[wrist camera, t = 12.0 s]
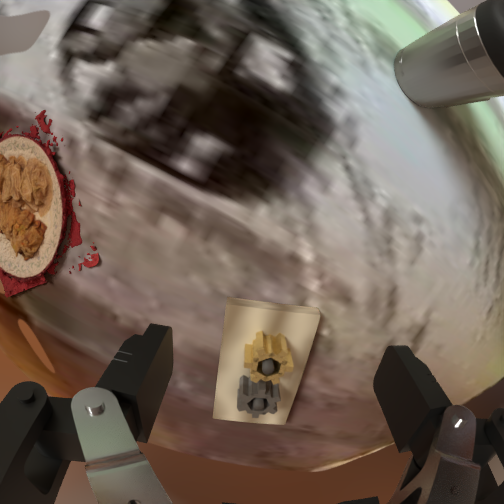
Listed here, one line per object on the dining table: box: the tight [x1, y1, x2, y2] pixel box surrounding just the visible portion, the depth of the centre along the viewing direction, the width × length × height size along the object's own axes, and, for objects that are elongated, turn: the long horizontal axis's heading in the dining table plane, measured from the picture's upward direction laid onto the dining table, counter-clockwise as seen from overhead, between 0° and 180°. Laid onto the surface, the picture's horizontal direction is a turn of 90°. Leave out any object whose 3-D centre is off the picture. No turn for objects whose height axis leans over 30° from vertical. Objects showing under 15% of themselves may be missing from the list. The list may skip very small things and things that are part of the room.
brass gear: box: [244, 331, 294, 385], centre depth 36 cm, size 6×6×4 cm
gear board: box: [213, 297, 321, 425], centre depth 38 cm, size 12×22×6 cm, turn 171°
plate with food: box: [0, 110, 99, 297], centre depth 32 cm, size 24×26×4 cm
